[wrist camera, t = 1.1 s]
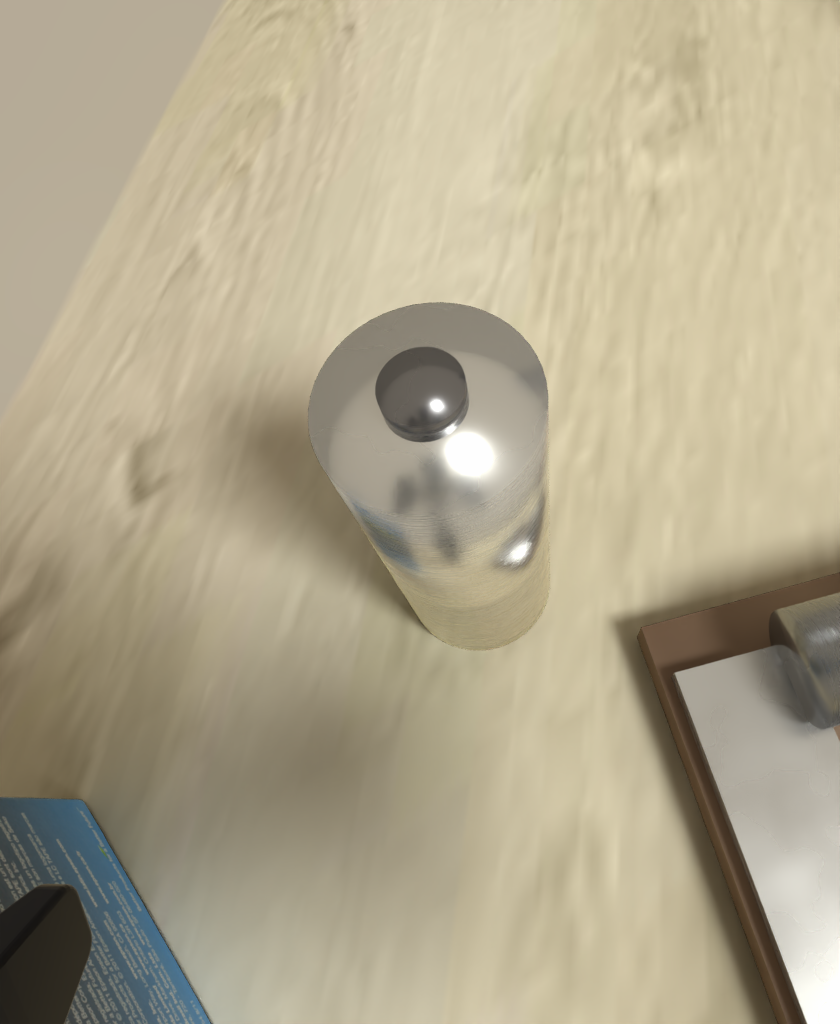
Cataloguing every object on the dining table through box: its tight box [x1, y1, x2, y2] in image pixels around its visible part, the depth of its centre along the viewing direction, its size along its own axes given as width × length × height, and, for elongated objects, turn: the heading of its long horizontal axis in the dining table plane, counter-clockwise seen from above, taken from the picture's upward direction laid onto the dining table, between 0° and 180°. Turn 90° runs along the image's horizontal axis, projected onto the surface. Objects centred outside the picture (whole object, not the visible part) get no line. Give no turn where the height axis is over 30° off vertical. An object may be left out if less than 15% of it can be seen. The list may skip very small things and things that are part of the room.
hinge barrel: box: [308, 302, 550, 650], centre depth 19 cm, size 4×4×12 cm
